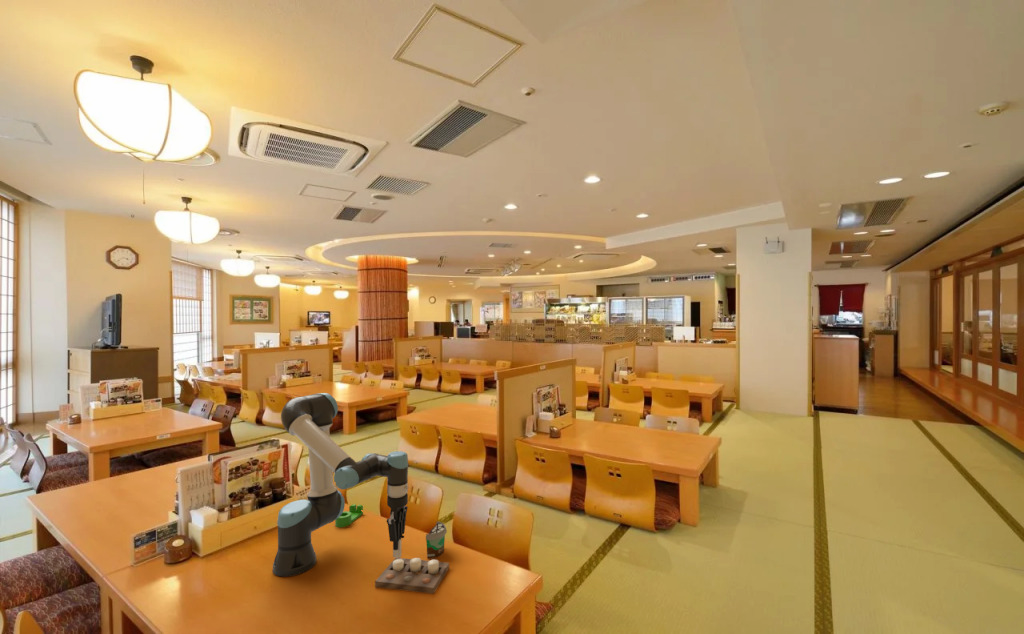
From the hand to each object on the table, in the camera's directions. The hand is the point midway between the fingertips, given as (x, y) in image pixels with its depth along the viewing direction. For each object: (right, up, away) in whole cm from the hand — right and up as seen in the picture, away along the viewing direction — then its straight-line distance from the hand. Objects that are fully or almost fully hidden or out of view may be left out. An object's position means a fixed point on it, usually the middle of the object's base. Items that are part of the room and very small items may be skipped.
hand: (397, 556), depth 164 cm
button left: (0, -5, 0) cm, 5 cm away
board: (+7, -6, -4) cm, 10 cm away
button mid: (+7, -4, -2) cm, 9 cm away
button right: (+14, -4, -3) cm, 15 cm away
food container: (+14, -6, +13) cm, 20 cm away
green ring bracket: (-35, -8, +45) cm, 57 cm away
